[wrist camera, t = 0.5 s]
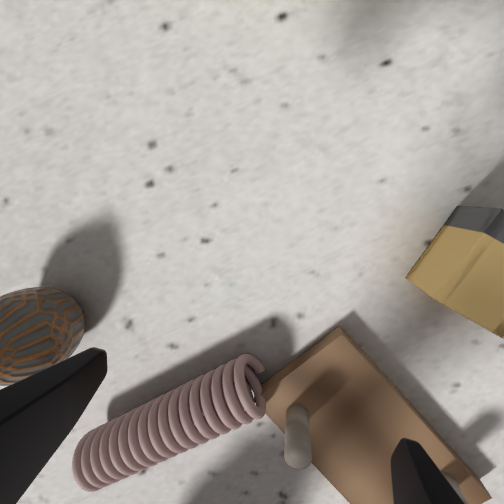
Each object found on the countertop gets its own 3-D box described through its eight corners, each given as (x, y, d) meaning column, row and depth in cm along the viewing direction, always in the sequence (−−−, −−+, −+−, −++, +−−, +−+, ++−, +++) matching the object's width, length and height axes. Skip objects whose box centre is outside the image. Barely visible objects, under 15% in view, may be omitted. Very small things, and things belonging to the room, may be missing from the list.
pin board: (387, 529, 26) (411, 615, 21) (255, 388, 25) (245, 440, 20) (479, 479, 24) (533, 561, 19) (339, 325, 23) (352, 363, 18)
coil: (238, 367, 20) (54, 458, 24) (272, 427, 20) (81, 509, 24) (251, 342, 25) (94, 421, 29) (279, 391, 25) (118, 464, 29)
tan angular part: (578, 251, 16) (503, 338, 17) (516, 239, 20) (460, 309, 22) (501, 209, 16) (433, 298, 17) (457, 206, 21) (405, 277, 22)
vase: (27, 274, 27) (-100, 310, 18) (98, 283, 26) (0, 326, 17) (31, 345, 28) (-85, 410, 19) (99, 356, 27) (9, 429, 18)
